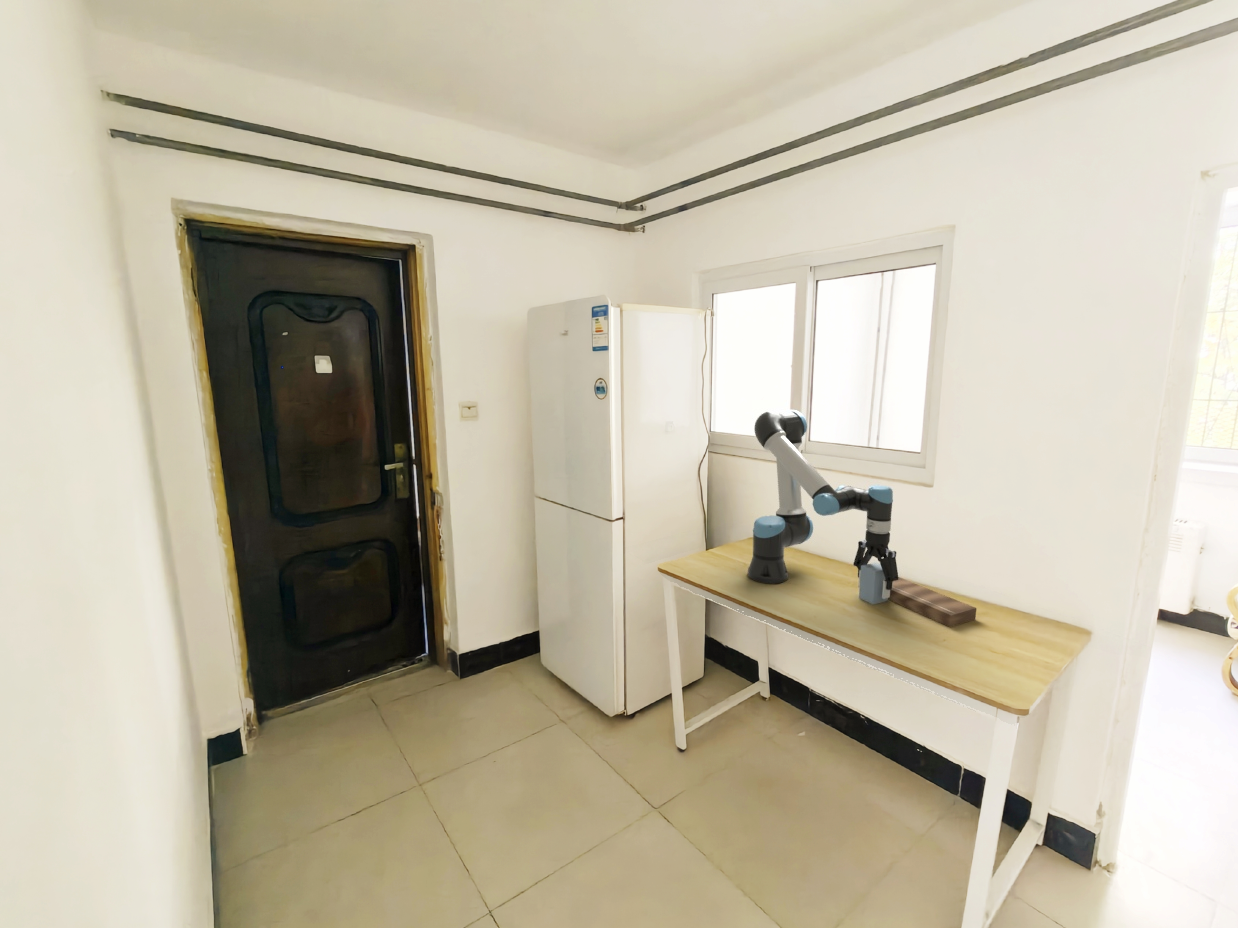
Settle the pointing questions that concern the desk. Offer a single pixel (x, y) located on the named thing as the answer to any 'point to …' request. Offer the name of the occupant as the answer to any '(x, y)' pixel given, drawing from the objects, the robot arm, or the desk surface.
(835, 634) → the desk surface
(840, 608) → the desk surface
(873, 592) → the pale blue block
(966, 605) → the plank
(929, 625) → the desk surface
